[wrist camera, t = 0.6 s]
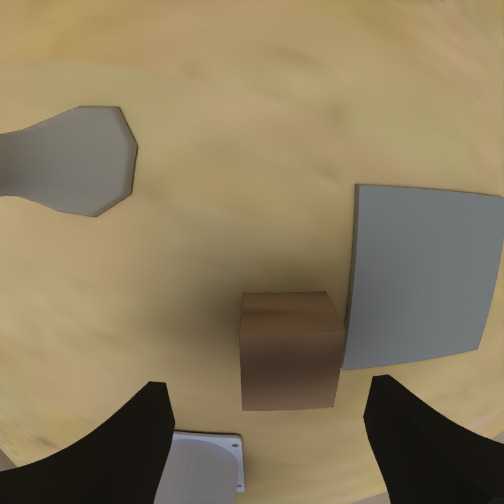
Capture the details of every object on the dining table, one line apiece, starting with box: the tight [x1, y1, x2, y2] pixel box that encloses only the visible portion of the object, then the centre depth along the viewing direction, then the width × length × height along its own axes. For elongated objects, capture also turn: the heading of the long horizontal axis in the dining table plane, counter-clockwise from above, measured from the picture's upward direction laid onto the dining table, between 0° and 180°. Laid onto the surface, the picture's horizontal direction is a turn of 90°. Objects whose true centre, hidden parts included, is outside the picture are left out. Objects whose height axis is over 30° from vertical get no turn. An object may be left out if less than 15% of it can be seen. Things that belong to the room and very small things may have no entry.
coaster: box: [341, 184, 504, 370], centre depth 18 cm, size 12×12×1 cm
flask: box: [0, 106, 137, 217], centre depth 12 cm, size 7×7×10 cm
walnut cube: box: [239, 292, 346, 411], centre depth 17 cm, size 5×5×5 cm
